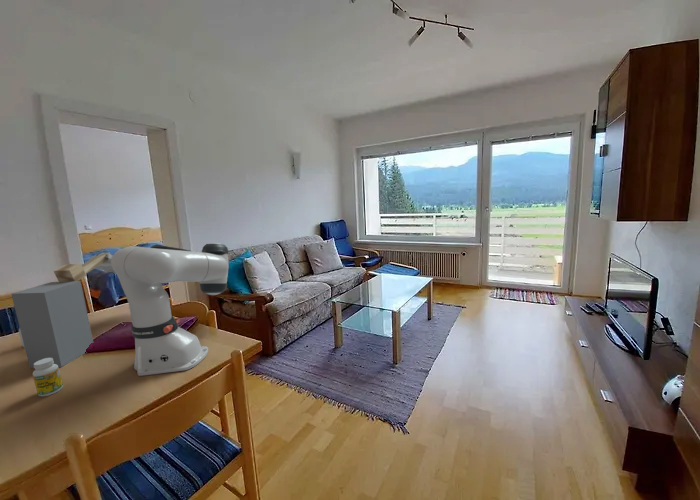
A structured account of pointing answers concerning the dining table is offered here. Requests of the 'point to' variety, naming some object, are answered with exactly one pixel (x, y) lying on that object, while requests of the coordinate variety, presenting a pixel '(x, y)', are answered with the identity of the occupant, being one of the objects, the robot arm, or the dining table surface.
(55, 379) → the supplement bottle
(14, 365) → the dining table surface
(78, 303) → the pedestal
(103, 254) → the mallet
